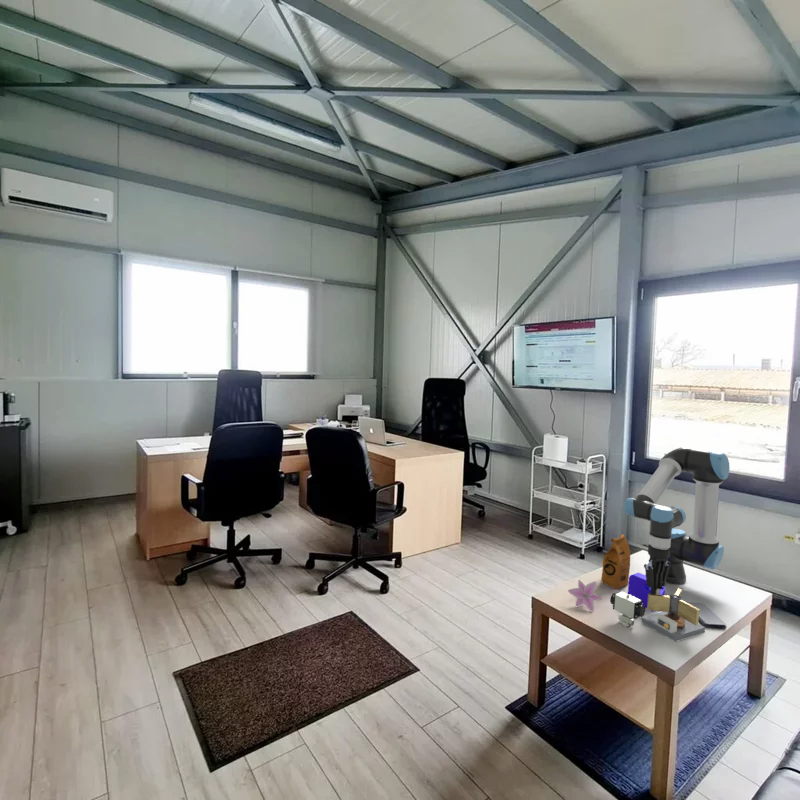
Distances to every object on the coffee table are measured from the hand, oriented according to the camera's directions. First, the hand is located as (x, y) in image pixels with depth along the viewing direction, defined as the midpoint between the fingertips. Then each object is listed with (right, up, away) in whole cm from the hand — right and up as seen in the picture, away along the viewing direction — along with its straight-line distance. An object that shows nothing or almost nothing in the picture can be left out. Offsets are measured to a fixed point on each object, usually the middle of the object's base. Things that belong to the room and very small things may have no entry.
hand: (654, 603), depth 188 cm
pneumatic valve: (-13, -7, -3) cm, 15 cm away
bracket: (+8, -6, +17) cm, 20 cm away
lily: (-24, -5, +10) cm, 26 cm away
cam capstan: (+3, -5, -4) cm, 7 cm away
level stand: (+5, -7, -4) cm, 10 cm away
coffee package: (-1, -4, +32) cm, 32 cm away
